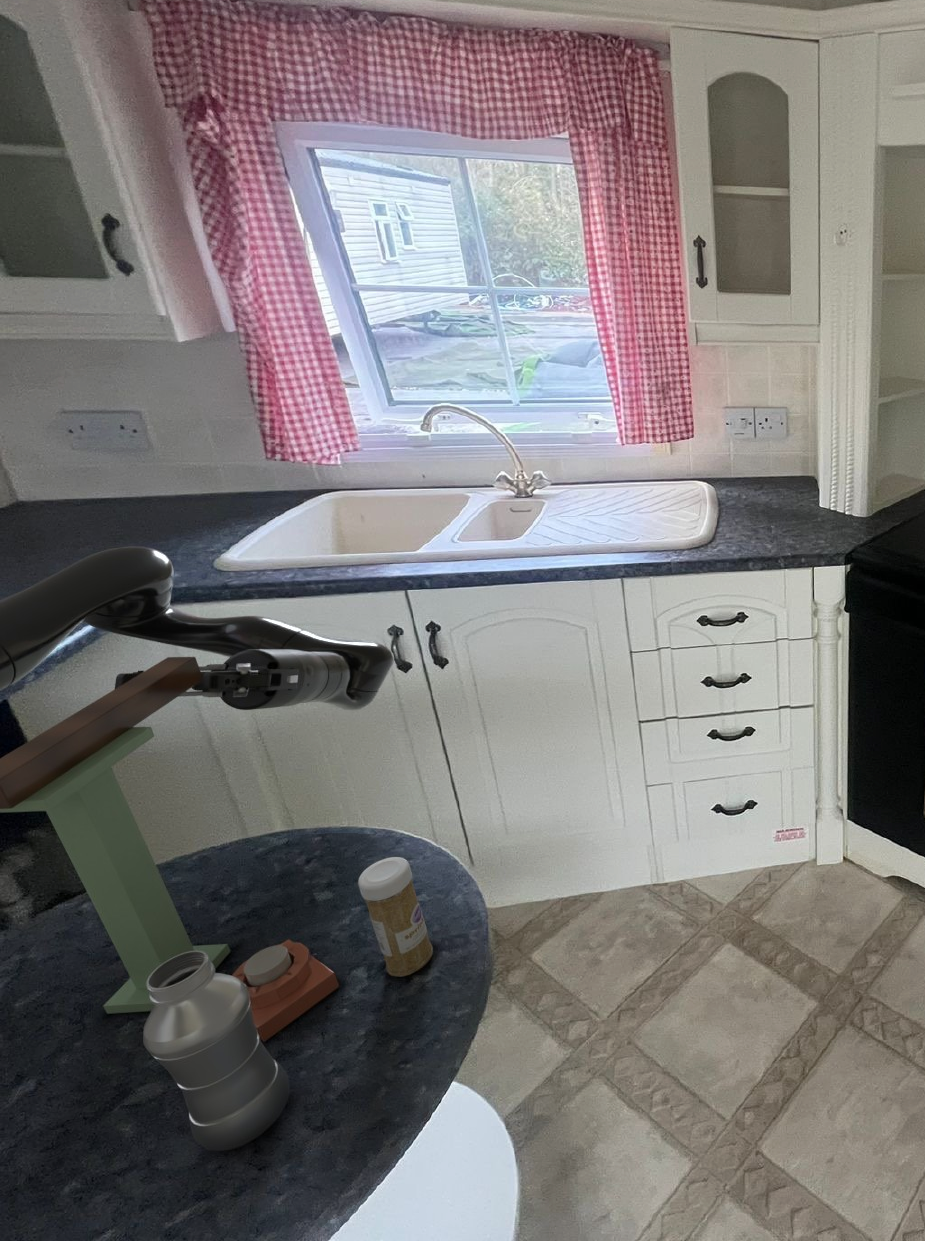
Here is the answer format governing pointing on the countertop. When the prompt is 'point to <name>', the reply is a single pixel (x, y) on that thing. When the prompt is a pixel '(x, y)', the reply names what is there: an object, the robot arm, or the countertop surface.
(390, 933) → the sprinkles bottle
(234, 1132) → the grey bottle
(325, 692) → the robot arm
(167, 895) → the shelf stand
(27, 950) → the countertop surface
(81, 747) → the brown wooden bar
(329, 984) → the orange button pad
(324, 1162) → the countertop surface
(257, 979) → the push button
